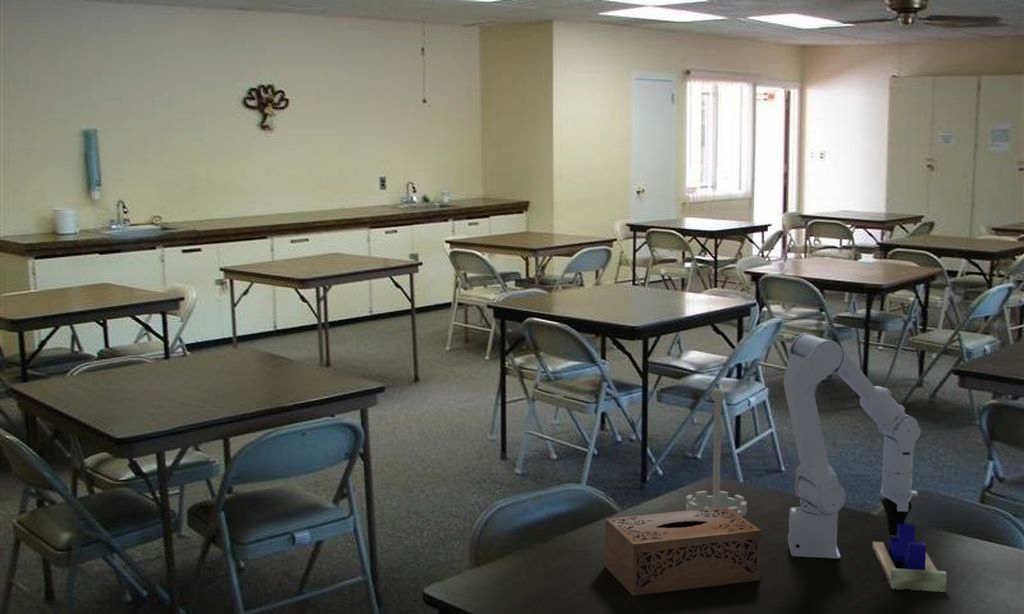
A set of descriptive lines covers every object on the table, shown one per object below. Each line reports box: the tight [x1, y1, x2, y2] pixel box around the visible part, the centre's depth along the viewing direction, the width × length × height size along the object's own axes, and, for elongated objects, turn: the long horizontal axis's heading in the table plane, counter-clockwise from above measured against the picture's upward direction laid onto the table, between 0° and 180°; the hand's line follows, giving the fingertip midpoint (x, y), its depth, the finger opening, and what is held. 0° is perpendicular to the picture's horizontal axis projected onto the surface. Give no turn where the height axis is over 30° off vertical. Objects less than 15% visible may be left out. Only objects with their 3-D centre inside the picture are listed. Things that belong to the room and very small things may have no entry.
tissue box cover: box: [604, 507, 762, 596], centre depth 199 cm, size 26×14×10 cm, turn 105°
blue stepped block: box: [888, 523, 927, 570], centre depth 204 cm, size 12×4×6 cm, turn 170°
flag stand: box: [685, 388, 748, 518], centre depth 226 cm, size 13×13×30 cm
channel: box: [872, 541, 948, 593], centre depth 201 cm, size 10×21×4 cm, turn 170°
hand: (894, 534), depth 214 cm, fingers closed
